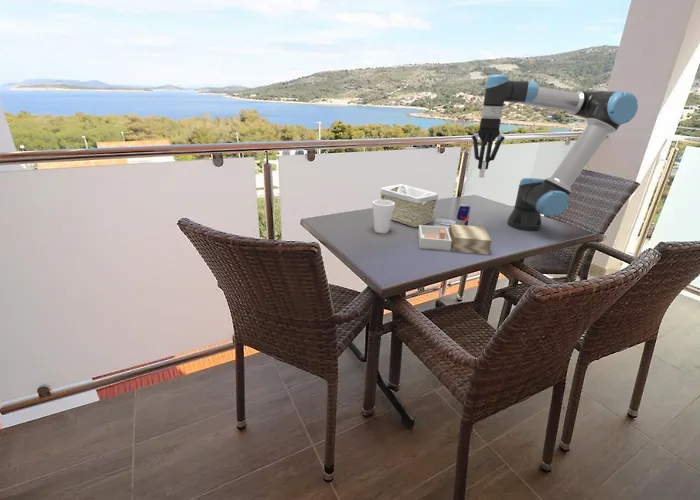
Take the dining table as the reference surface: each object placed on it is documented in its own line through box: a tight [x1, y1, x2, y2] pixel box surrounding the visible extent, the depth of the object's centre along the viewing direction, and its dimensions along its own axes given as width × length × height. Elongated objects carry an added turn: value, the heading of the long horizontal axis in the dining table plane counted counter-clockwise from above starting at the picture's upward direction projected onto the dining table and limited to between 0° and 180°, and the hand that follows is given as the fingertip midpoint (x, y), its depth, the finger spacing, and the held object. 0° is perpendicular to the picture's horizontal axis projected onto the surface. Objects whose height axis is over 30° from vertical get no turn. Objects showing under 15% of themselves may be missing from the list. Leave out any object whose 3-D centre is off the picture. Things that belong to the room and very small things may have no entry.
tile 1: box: [425, 234, 438, 239], centre depth 155 cm, size 5×5×2 cm
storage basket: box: [379, 183, 439, 228], centre depth 180 cm, size 24×16×15 cm
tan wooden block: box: [448, 223, 493, 256], centre depth 153 cm, size 14×16×6 cm
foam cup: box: [372, 199, 395, 234], centre depth 163 cm, size 10×9×13 cm
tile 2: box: [438, 229, 445, 239], centre depth 154 cm, size 5×5×2 cm
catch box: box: [417, 224, 452, 252], centre depth 154 cm, size 12×16×4 cm
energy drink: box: [455, 202, 472, 226], centre depth 169 cm, size 5×5×12 cm
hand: (481, 176), depth 156 cm, fingers closed
